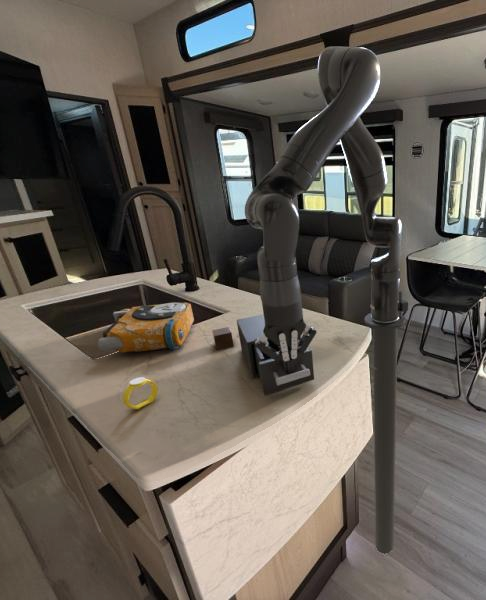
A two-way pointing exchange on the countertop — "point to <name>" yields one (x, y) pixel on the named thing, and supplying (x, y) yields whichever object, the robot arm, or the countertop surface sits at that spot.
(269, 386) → the open drawer cabinet
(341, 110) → the robot arm
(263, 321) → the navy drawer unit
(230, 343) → the block
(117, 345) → the device
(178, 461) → the countertop surface
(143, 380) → the watch
